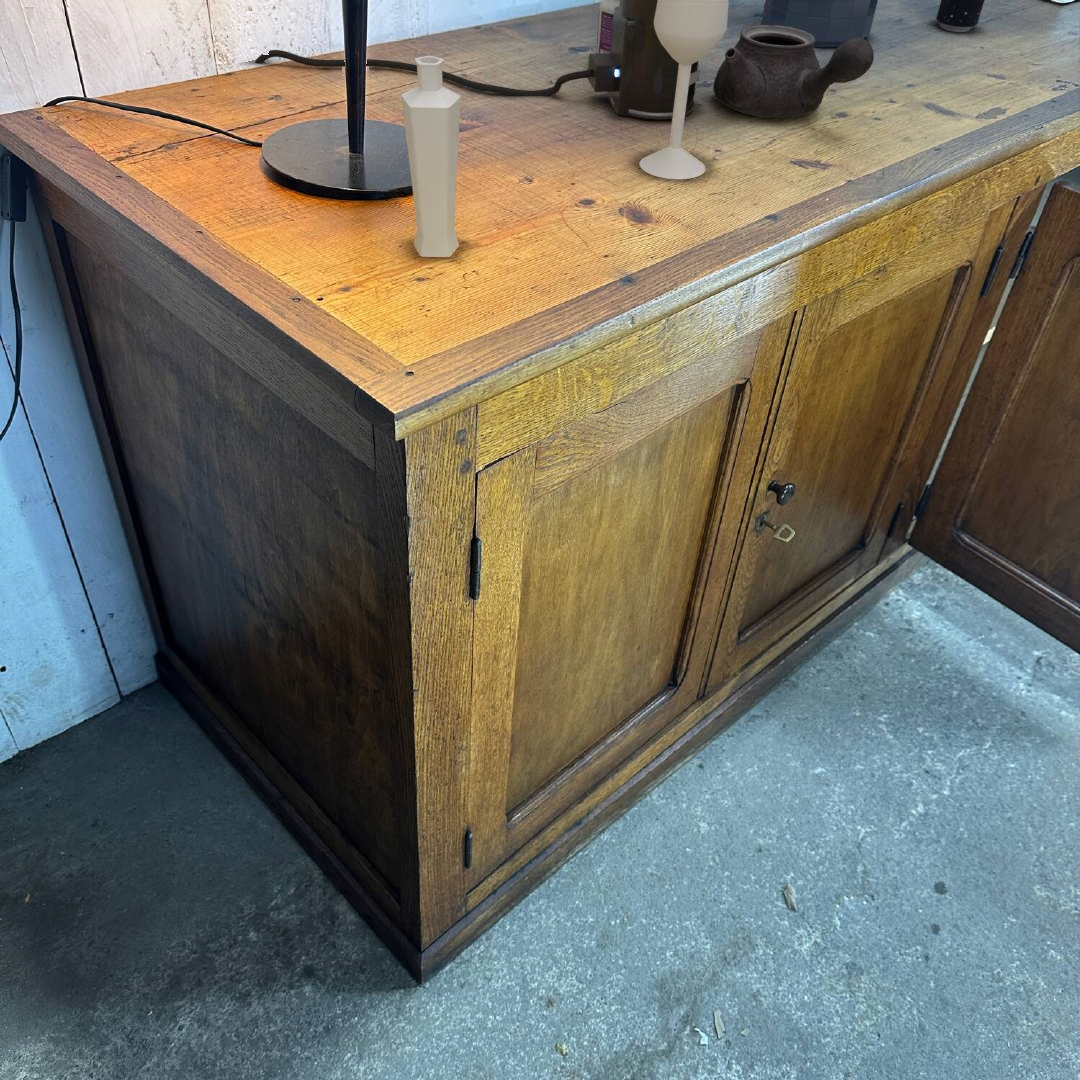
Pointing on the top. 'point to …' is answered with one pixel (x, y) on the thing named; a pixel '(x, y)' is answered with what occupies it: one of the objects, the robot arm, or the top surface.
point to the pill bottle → (605, 25)
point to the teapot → (784, 71)
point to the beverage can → (959, 14)
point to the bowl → (823, 18)
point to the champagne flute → (684, 72)
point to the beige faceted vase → (433, 157)
